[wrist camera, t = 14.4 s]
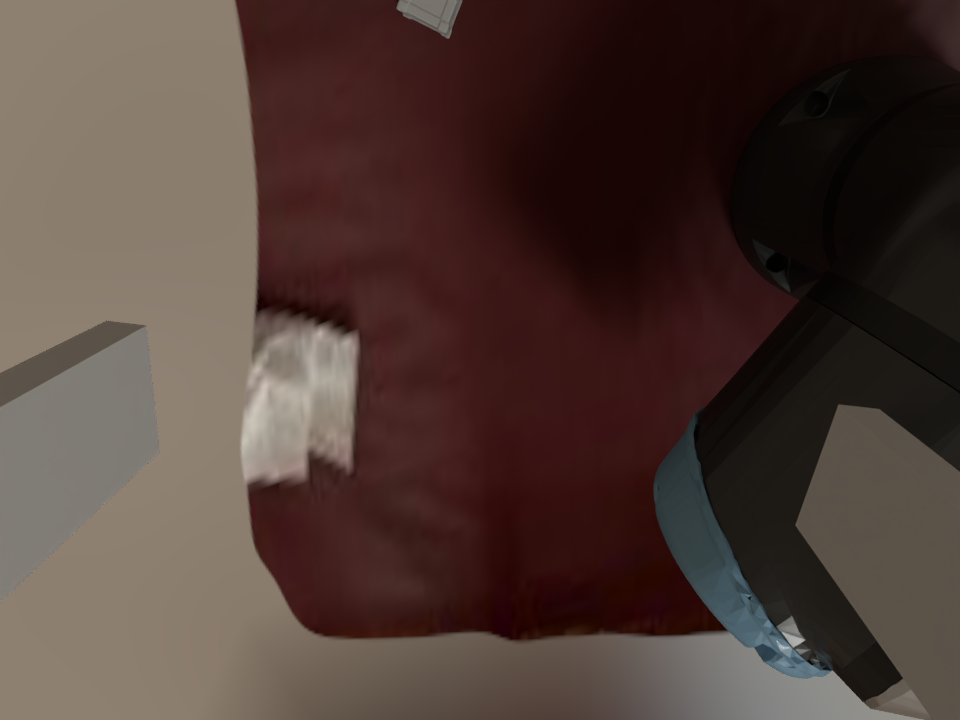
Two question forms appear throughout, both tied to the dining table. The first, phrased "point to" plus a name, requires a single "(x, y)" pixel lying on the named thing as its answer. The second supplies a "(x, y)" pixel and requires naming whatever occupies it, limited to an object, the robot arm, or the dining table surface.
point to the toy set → (432, 13)
